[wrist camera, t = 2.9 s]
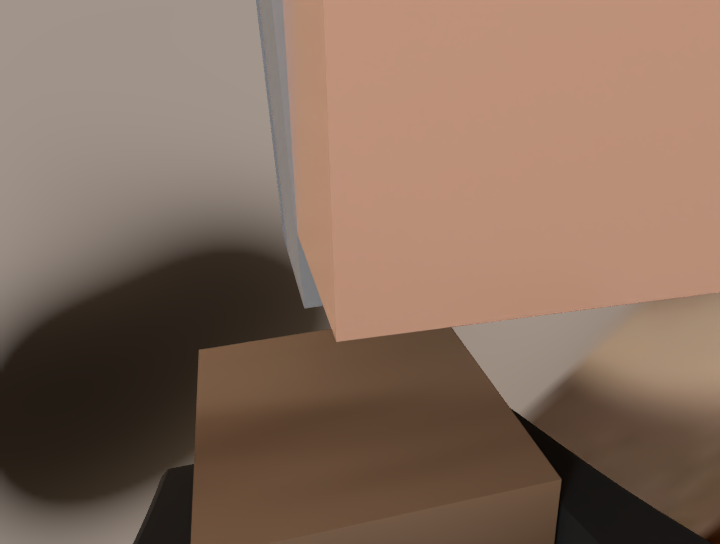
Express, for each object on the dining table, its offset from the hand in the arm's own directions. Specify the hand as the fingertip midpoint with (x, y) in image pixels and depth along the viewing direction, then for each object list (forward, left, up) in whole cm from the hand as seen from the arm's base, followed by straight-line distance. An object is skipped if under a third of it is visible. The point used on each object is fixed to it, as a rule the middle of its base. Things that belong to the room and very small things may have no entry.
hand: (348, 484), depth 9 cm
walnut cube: (0, 0, -1) cm, 1 cm away
